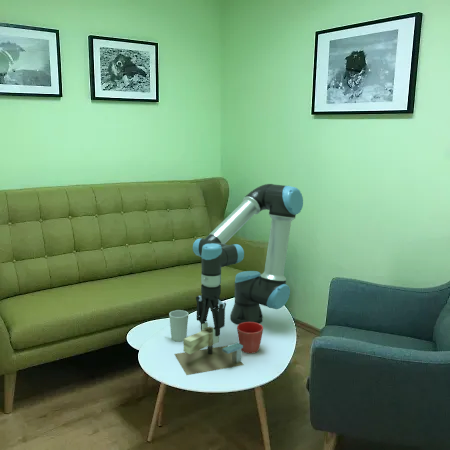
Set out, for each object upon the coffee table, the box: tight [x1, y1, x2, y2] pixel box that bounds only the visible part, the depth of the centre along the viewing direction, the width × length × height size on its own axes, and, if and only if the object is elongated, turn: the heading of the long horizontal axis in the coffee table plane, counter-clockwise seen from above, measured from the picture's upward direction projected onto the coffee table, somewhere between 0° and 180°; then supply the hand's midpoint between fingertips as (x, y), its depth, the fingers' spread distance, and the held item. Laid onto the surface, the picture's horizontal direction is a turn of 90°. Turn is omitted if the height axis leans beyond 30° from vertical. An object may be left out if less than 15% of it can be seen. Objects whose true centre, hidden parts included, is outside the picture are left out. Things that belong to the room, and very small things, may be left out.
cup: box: [168, 309, 189, 343], centre depth 196 cm, size 8×8×12 cm
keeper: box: [222, 342, 243, 364], centre depth 176 cm, size 3×8×7 cm, turn 131°
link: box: [183, 325, 214, 354], centre depth 179 cm, size 15×5×5 cm, turn 139°
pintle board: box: [174, 345, 245, 376], centre depth 180 cm, size 22×17×1 cm
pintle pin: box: [207, 344, 214, 354], centre depth 184 cm, size 2×2×6 cm
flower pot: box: [236, 322, 264, 354], centre depth 190 cm, size 11×11×10 cm
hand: (210, 340), depth 184 cm, fingers closed on link, 5 cm apart
